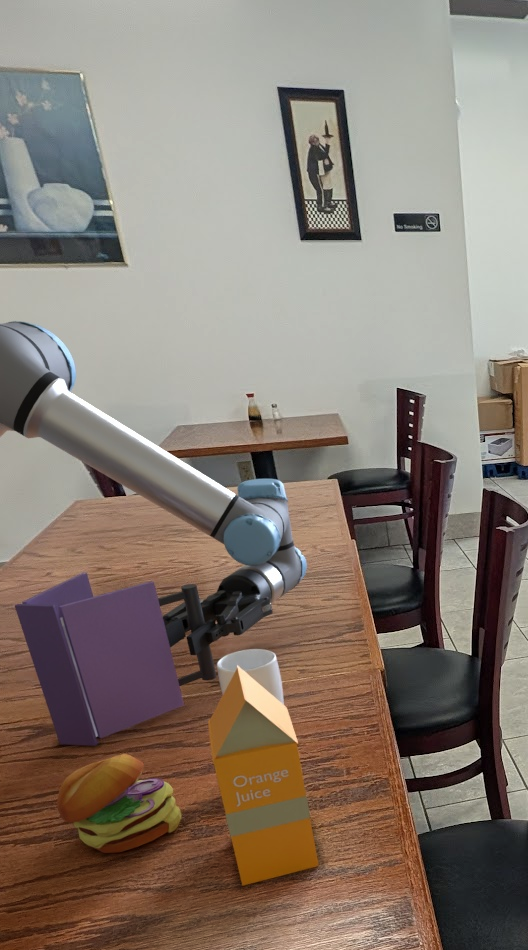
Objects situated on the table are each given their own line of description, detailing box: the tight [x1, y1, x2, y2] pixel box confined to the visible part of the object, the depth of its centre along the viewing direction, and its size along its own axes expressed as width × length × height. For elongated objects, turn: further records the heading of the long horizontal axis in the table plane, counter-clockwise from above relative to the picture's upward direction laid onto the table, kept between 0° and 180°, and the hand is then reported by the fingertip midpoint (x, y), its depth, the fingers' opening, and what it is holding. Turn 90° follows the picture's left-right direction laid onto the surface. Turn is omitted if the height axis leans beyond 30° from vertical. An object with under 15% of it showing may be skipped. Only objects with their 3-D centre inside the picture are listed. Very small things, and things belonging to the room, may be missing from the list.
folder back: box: [14, 571, 99, 747], centre depth 110 cm, size 5×13×20 cm, turn 174°
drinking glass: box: [216, 648, 285, 706], centre depth 99 cm, size 7×7×15 cm
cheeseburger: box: [56, 753, 183, 854], centre depth 89 cm, size 10×11×10 cm
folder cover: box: [59, 580, 218, 739], centre depth 111 cm, size 2×18×18 cm, turn 143°
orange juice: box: [207, 665, 320, 887], centre depth 82 cm, size 8×9×20 cm
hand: (173, 645), depth 113 cm, fingers closed on folder cover, 4 cm apart
